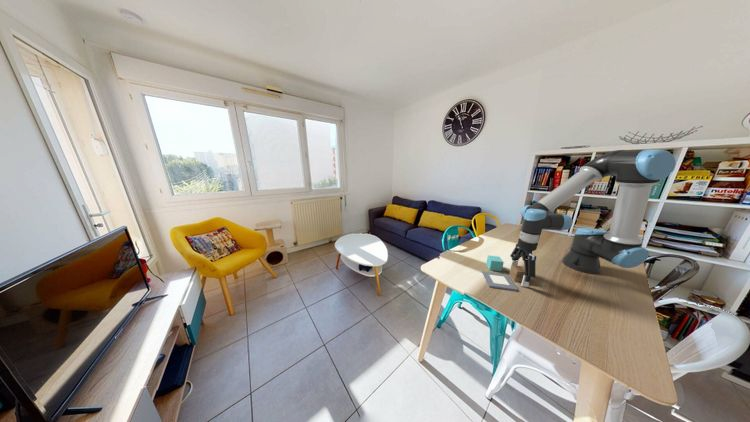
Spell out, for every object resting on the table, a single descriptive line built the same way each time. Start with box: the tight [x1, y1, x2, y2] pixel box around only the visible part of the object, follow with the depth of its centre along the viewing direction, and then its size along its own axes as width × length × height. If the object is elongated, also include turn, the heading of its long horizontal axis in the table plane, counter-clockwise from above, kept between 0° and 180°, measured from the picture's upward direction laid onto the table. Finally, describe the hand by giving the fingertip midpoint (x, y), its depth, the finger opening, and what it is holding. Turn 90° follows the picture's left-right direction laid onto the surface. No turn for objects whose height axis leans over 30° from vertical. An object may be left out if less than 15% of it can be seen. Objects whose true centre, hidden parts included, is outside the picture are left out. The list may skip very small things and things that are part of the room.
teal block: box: [485, 254, 504, 273], centre depth 107 cm, size 6×6×6 cm
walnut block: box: [508, 264, 525, 283], centre depth 98 cm, size 6×6×6 cm
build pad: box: [481, 270, 519, 292], centre depth 96 cm, size 12×12×1 cm
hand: (518, 278), depth 99 cm, fingers open, 12 cm apart
